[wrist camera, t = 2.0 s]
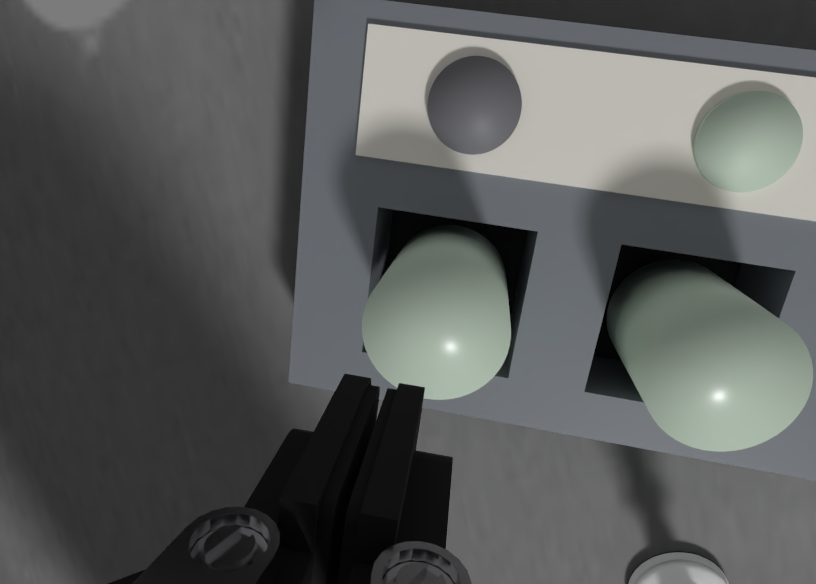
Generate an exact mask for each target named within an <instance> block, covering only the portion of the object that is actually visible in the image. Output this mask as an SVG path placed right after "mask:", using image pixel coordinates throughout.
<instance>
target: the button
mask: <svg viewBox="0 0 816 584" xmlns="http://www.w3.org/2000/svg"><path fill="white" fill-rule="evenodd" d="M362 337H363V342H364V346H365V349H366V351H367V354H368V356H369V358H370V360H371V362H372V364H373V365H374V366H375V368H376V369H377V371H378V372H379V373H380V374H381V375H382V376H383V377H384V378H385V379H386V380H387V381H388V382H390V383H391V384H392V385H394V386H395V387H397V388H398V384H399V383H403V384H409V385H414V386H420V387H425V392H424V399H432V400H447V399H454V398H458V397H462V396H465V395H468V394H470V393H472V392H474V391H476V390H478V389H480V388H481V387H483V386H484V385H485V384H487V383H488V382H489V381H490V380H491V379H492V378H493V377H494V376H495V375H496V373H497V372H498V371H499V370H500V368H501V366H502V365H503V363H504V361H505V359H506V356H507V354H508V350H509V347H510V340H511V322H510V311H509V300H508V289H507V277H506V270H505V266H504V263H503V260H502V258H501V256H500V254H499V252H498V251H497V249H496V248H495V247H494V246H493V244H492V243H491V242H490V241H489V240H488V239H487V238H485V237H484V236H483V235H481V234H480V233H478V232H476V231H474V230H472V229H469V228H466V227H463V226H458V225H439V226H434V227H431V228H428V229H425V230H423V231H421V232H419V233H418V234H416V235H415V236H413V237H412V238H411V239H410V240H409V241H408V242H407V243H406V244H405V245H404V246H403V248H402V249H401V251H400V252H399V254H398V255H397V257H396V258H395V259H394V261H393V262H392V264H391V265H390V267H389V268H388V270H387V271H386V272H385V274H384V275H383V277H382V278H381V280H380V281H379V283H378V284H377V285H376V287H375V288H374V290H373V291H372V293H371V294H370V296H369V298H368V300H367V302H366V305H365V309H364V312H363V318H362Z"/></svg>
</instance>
